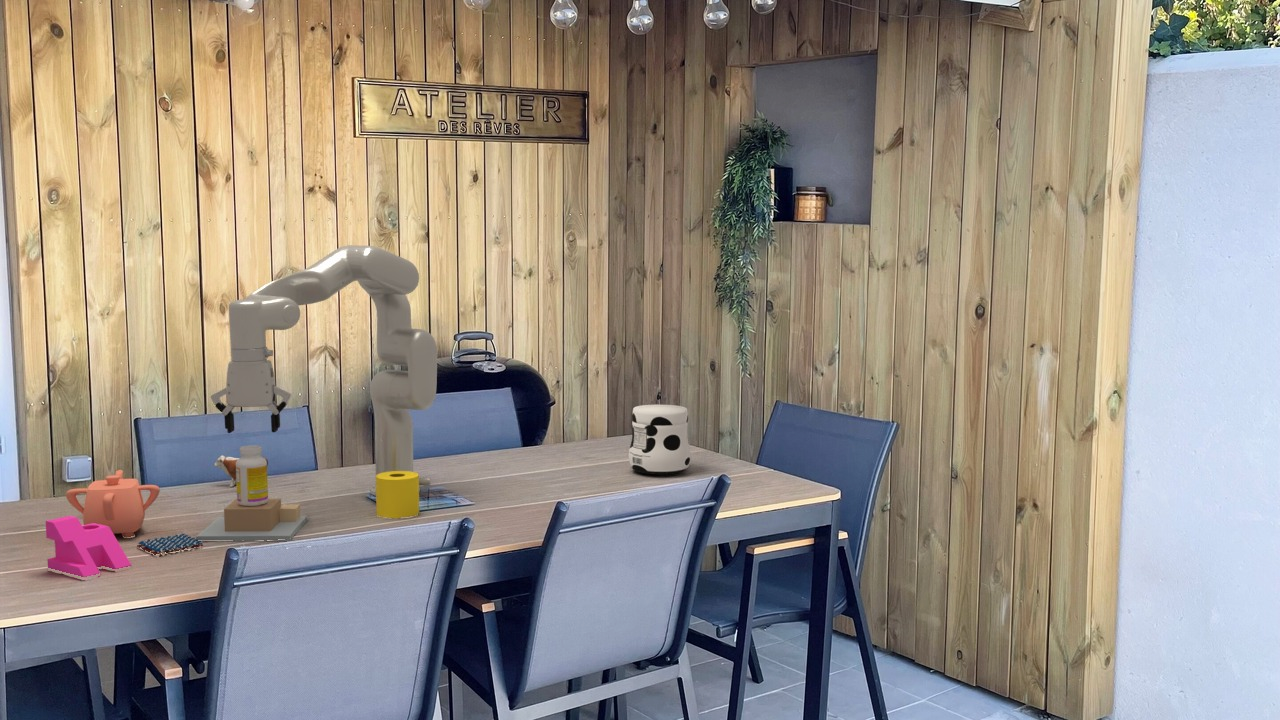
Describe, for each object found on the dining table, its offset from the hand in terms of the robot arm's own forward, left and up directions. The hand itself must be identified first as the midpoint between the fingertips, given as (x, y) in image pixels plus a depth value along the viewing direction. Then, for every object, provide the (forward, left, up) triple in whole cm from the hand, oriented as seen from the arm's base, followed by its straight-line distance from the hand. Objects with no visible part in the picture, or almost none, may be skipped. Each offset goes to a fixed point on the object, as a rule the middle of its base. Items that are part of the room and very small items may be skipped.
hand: (253, 431), depth 270 cm
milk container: (-96, -62, -23) cm, 116 cm away
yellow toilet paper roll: (-30, -14, -23) cm, 40 cm away
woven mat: (+14, +15, -23) cm, 31 cm away
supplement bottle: (0, 0, -17) cm, 17 cm away
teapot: (+30, +2, -23) cm, 38 cm away
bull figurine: (+16, -47, -23) cm, 55 cm away
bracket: (+25, +30, -23) cm, 45 cm away
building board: (0, 0, -23) cm, 23 cm away
